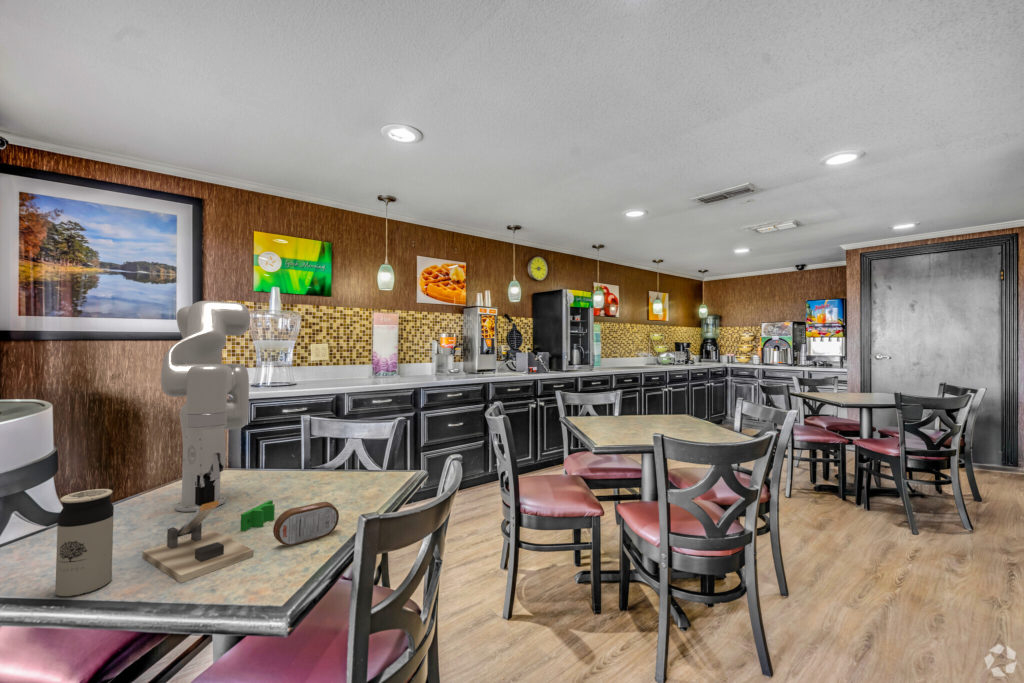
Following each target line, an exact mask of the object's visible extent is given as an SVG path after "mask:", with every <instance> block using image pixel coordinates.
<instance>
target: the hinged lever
mask: <svg viewBox="0 0 1024 683" xmlns="http://www.w3.org/2000/svg"><path fill="white" fill-rule="evenodd" d="M218 504H219V502H218V501H214V502H210V503H206V504H203V505H202V506H201V507H200V508H199V509H198V510H197V511H194V513H193V514H192V516H190V517H189V519H188V520H187V521H186V522H185V523H184V524H183V525H182V526H181V527H180V528H179V529H178V538H181V537H183V536H187V535H191V533H193V531H194V530H195V529H196V527H197V526H198V525H199V524H200V523H203V521H204V520H205V519H206V518H208V516H209V515H210V514H211V513H212V512H213V511H214V510H215V508H217V507H218V506H217V505H218ZM216 506H217V507H216Z"/></svg>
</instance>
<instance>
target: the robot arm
mask: <svg viewBox="0 0 1024 683" xmlns="http://www.w3.org/2000/svg"><path fill="white" fill-rule="evenodd" d="M176 323H177V327H178V330H179V333H180V334H181V339H180V340H178V341H177V342H176V343H175V344H173V345H172V346H171V347H170V348H169V349H168V350H167V351H166V353H165V354H164V356H163V360H162V367H161V374H160V385H161V386H160V387H161V390H162V392H163V393H164V394H165V395H167V396H169V397H173V398H174V397H175V398H177V397H178V398H179V397H181V398H182V397H186V403H185V404H183V405H182V406H181V408H180V410H179V411H180V412H179V419H180V426H181V433H182V434H181V436H182V472H181V473H182V474H181V475H182V476H181V480H182V481H181V500H180V501H178V502H177V503H175V505H174V510H176V511H178V512H182V513H183V512H184V513H185V512H190V513H191V512H196V511H197V510H198V509H199V508H200V507H201V506H202V505H203V504H206V503H210V502H214V501H218V502H219V504H218V505H217V506H216V508H218V507H219V505H220V506H222V505H223V504H225V503H226V501H227V497H226V496H225V495H223V494H221V473H222V472H223V471H224V470H225V469H226V460H227V452H226V451H227V447H226V446H227V445H226V434H225V430H226V431H228V430H236V429H237V430H238V429H241V428H243V427H245V426H247V424H248V421H249V413H250V412H249V410H250V409H249V408H250V407H249V406H250V402H249V400H250V399H249V397H250V396H249V394H250V393H249V392H250V378H249V373H248V369H247V367H246V366H244V365H243V364H240V363H239V364H238V363H222V350H223V349H224V348H225V347H226V344H227V336H233V337H239V336H243V335H244V334H246V332H248V330H249V328H250V325H251V313H250V310H249V309H248V307H247V306H246V305H245V304H244V303H241V302H236V301H220V300H200V301H196V302H195V303H193V304H191V305H190V306H184V307H181V308H180V309H178V310H177V312H176ZM229 395H230V396H231V397H232V398H228V396H229ZM221 504H222V505H221Z"/></svg>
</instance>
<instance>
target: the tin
mask: <svg viewBox="0 0 1024 683" xmlns="http://www.w3.org/2000/svg"><path fill="white" fill-rule="evenodd" d="M339 514H340V513H339V510H338V509H337V508H336V507H335V506H334V504H333V503H331V502H328V501H321V502H316V503H311V504H307V505H302V506H301V505H300V506H298V507H293V508H289V509H287V510H285V511H284V512H282V513H281V514H280V515H279V516H278V517H277V519H275V522H274V525H273V527H272V529H273V530H272V532H273V537H274V538H275V540H276V541H278V542H279V543H280V544H281V545H284V546H286V547H287V546H289V547H292V546H296V544H297V545H300V544H303V543H307V542H311V541H314V539H315V540H318V539H321V538H325V537H327V536H329V535H330V534H331V533H333V532H334V531H335V529H336V528H337V526H338V523H339V519H340V515H339Z"/></svg>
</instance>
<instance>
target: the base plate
mask: <svg viewBox="0 0 1024 683" xmlns="http://www.w3.org/2000/svg"><path fill="white" fill-rule="evenodd" d="M202 524H203V522H201V523H200V524H199V525H198V526H197V527H196V529H195V530H194V531H193V533H191V534H190V536H188V537H185V538H182V539H179V537H178V531H179V529H178V528H176V527H174V526H172V527H169V528H167V529H166V536H167V537H166V543H165V544H161V545H157V546H154V547H152V548H148V549H145V550H144V549H143V550H142V551H141V552H142V553H141V557H142V559H144V560H145V561H147V562H148V563H150V565H152V566H154V567H155V568H157V569H158V570H160V571H162V572H163V573H165V574H166V575H168V576H169V577H171V578H172V579H174V580H175V581H177V582H179V583H180V584H181V583H186V582H188V581H191V580H192V579H193V580H194V579H196V578H199V577H201V576H203V575H207V574H209V573H211V572H215V571H217V570H221V569H223V568H225V567H228V566H231V565H234V564H236V563H239V562H242V561H244V560H246V559H250V558H252V557H254V549H253V548H251V547H248V546H247V545H244V544H242V543H240V542H238V541H236V540H233V539H232V538H229V537H227V536H225V535H223V534H220V533H218V532H216V531H214V530H211V529H210V530H209V531H205V532H202Z"/></svg>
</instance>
